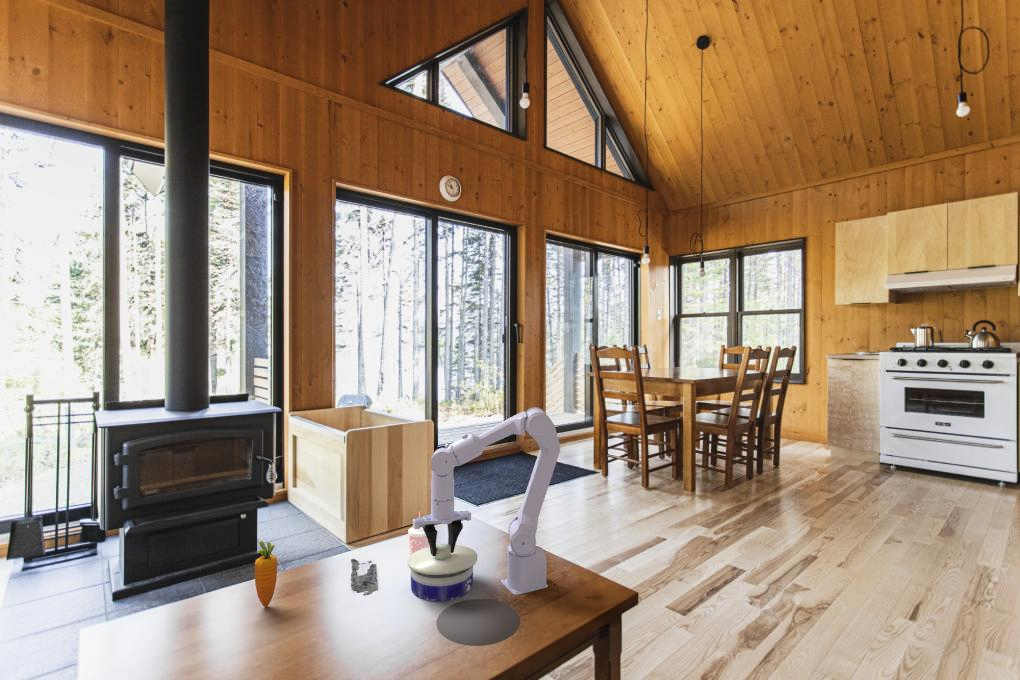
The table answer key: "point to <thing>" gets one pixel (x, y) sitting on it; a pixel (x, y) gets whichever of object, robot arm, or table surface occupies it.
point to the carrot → (265, 574)
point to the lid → (442, 560)
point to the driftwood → (363, 579)
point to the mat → (478, 622)
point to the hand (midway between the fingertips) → (442, 553)
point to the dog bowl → (441, 585)
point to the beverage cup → (417, 539)
